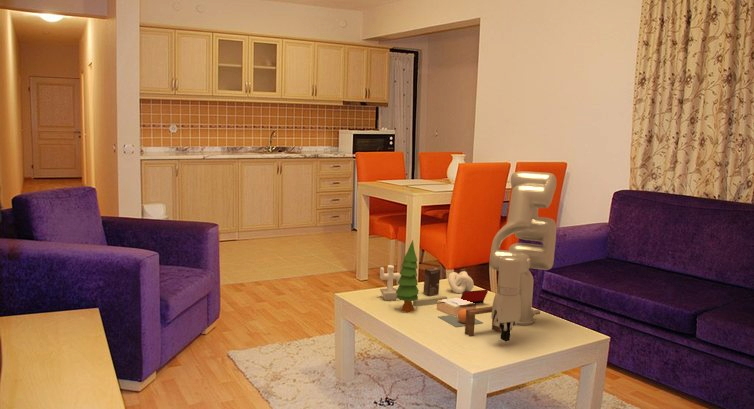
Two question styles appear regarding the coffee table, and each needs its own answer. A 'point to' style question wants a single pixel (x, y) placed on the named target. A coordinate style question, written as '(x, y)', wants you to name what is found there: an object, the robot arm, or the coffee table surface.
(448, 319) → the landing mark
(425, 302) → the wall
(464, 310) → the ball
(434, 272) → the box
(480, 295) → the handheld game console
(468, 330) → the bridge
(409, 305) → the decorative tree
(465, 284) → the decorative knot
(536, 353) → the coffee table surface
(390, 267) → the figurine
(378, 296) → the coffee table surface
